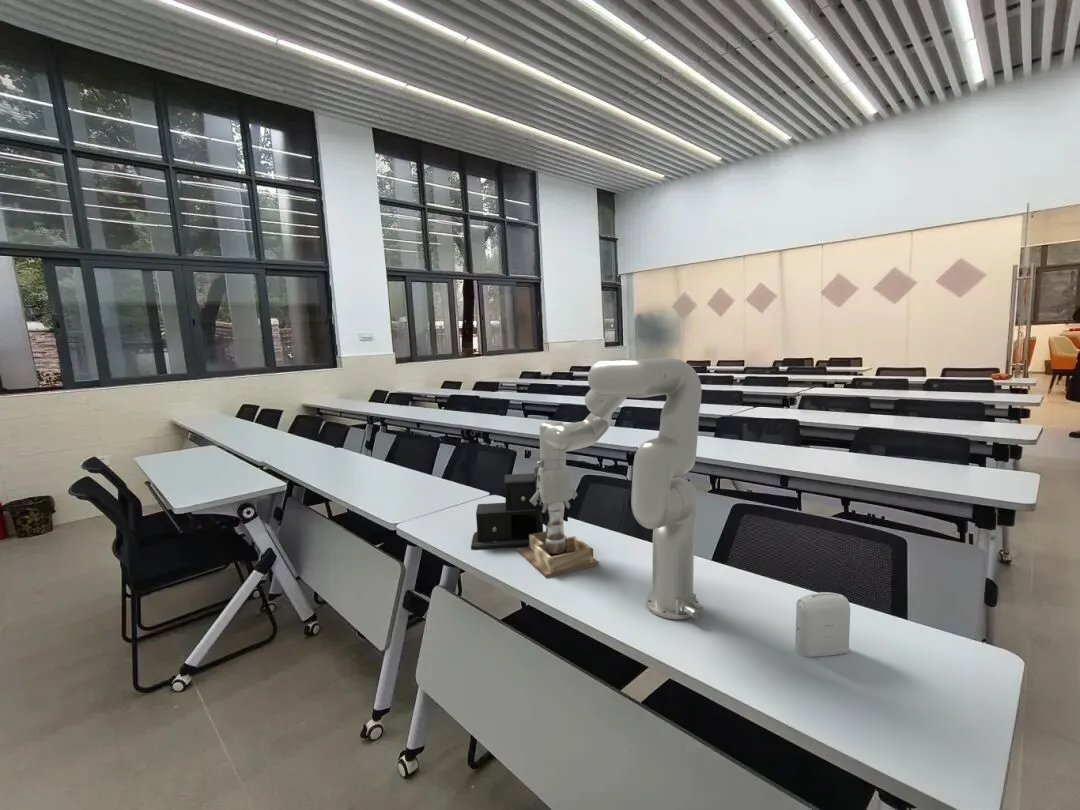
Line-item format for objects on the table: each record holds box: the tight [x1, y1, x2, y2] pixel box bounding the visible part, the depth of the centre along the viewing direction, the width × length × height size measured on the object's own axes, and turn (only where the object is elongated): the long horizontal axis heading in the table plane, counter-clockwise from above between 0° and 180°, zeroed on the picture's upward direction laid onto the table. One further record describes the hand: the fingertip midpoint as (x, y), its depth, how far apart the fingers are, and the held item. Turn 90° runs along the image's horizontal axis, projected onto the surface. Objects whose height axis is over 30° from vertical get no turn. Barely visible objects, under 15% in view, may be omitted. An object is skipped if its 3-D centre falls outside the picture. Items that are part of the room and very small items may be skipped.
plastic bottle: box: [545, 501, 566, 554], centre depth 151 cm, size 6×7×20 cm
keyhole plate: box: [517, 530, 600, 579], centre depth 151 cm, size 20×17×5 cm
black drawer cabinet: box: [470, 466, 544, 550], centre depth 163 cm, size 23×11×24 cm, turn 93°
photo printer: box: [794, 591, 851, 658], centre depth 102 cm, size 10×4×12 cm, turn 96°
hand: (554, 521), depth 151 cm, fingers closed on plastic bottle, 6 cm apart
